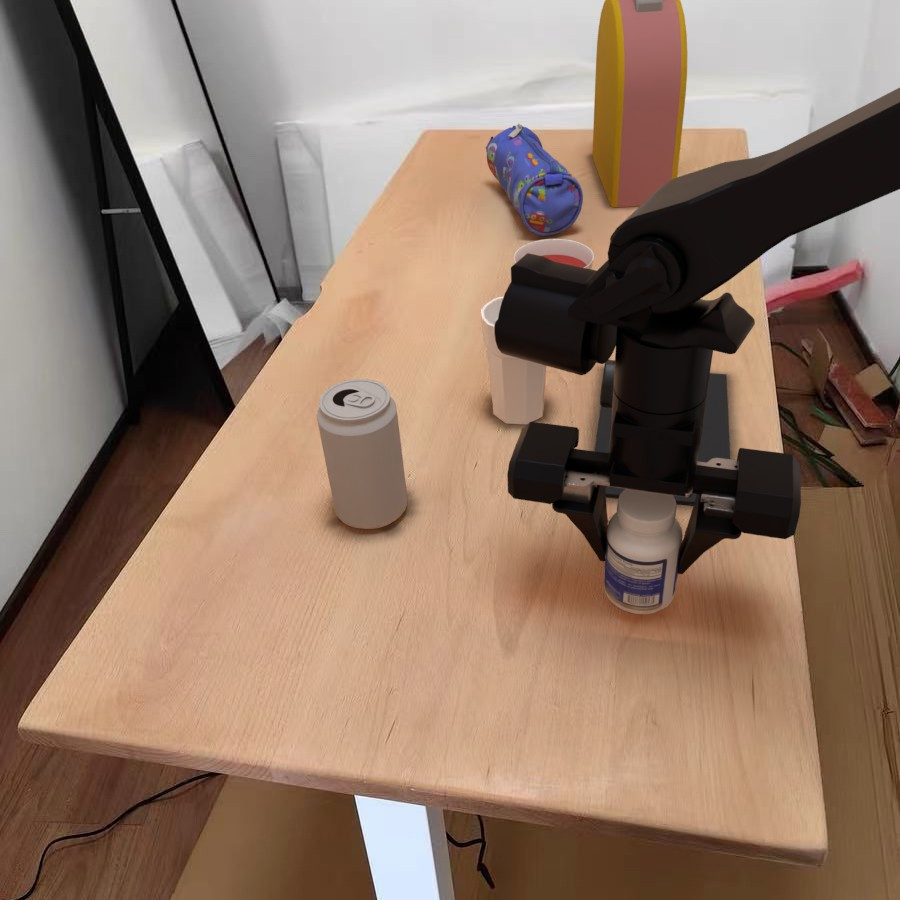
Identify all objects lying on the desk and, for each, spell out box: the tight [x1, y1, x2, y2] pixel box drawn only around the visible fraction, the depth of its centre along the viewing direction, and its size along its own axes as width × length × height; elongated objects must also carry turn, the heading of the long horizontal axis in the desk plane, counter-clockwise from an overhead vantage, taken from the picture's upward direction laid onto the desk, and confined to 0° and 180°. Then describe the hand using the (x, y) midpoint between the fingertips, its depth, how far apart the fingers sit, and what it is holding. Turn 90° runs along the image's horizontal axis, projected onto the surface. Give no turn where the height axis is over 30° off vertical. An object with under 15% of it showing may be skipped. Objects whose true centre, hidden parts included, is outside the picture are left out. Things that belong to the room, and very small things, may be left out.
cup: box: [480, 295, 547, 426], centre depth 82 cm, size 7×7×11 cm
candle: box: [513, 238, 595, 270], centre depth 99 cm, size 9×9×6 cm
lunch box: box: [591, 0, 688, 208], centre depth 122 cm, size 21×9×26 cm, turn 0°
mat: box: [594, 372, 731, 506], centre depth 81 cm, size 20×12×1 cm, turn 167°
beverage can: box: [316, 378, 409, 530], centre depth 72 cm, size 6×6×12 cm
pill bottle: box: [603, 489, 683, 615], centre depth 62 cm, size 5×5×9 cm
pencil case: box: [485, 122, 584, 237], centre depth 121 cm, size 22×9×10 cm, turn 11°
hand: (641, 563), depth 64 cm, fingers closed on pill bottle, 5 cm apart
